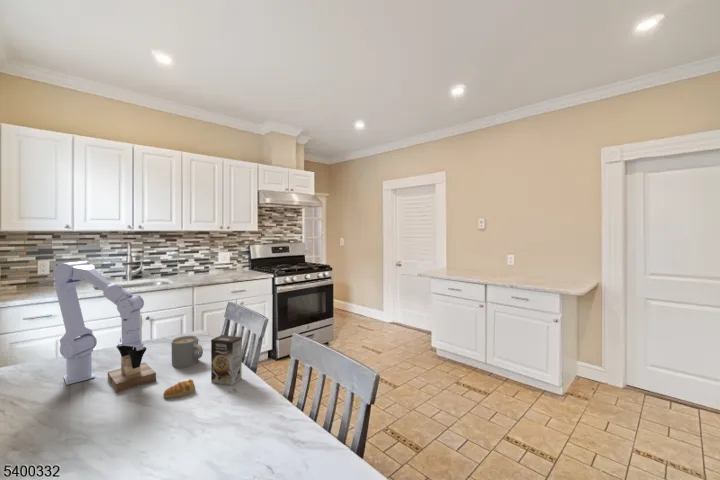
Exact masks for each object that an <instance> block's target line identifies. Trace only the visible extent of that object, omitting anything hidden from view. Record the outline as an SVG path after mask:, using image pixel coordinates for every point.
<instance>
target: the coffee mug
mask: <svg viewBox="0 0 720 480" xmlns="http://www.w3.org/2000/svg"><path fill="white" fill-rule="evenodd" d="M203 351H204V349H203V346H202V345H200V344H199V337H198V336H197V335H182V336H178V337H176V338H172V340H171V366H172V367H173V368H180V369H181V368H186V367H190V366H194V365H196V364H197V363H198V362H199V359H200V358H202V357H203V354H204V352H203Z"/></svg>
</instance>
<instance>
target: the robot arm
mask: <svg viewBox="0 0 720 480" xmlns="http://www.w3.org/2000/svg"><path fill="white" fill-rule="evenodd" d="M52 274H53V278H54V287H55V293H56V296H57V299H58V305H59V309H60V312H61V316H62V317H61V318H62V320H63V325H64V330H65V333H64V334H63V335H62V336H61V338H60V339H59V344H60V346H59V352H60V355H61V356H62V357H63V359H65V362H66V363H65V368H66V374H65V375H63V380H64V382H65V385H67V386H68V385H72V384H75V383H79V382H82V381H83V382H84V381H87V380H92V379H94V378H95V377H96V376H95V374H94V373H93V370H92V369H93V366H92V364H93V363H92V353H93V352H94V349H95V347H97V344H98V343H97V342H98V340H97V337H96V336H95V335H94V333H93V329H91V328H88V327H86V325H85V321H84V316H83V313H82V309H81V304H80V300H79V296H78V291H77V287H78V285H79V284H80V283H81V282H82V281H87V282H88V283H90V284H91V285H93V286H94V287H96V288H98V289H99V290H101V291H102V292H103V293H102V295H103V297H105V298H106V300H109V301H110V302H111V303H113V304H114V305H116V309H117V311H118V313H119V317H120V319H121V337H120V338H119V342H118V343H117V345H116V349H117V350H118V351H119V354H120V356H121V357H124V356H127V355H129V356H130V358H131V364H132V368H133V369H134V368H138V367H140V364H141V363H142V359H143V357H144V354H145V353H146V351H147V347H146V346H144V343H143V341H142V339H141V310H142V308H144V306H145V302H144V299H143V298H142V297H141V296H140V295H138V294H133V293H131V292H129V291H127V290H126V289H125V288H124V287H123V285H122V284H120V283H119V284H118V283H111V282H110V281H109V280H108V279H107V278H105V276H103V275H102V274H101V273H99V271H98V270H97V269H96V267H95V265H94V264H92V263H91V262H90V261H88V260H82V261H72V262H61V263H58V264H57V265H56V266H55V267H54V269H53V270H52ZM121 357H120V358H121Z"/></svg>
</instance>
